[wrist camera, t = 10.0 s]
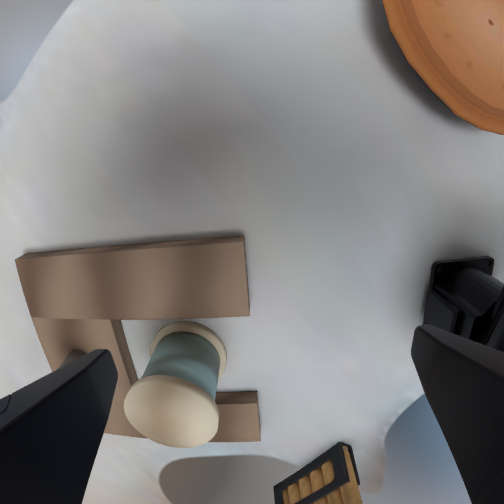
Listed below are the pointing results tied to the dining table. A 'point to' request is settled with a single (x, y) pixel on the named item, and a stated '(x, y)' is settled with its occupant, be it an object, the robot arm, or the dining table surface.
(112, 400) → the robot arm
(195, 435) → the thread spool
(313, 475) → the ammunition clip
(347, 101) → the dining table surface
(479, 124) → the pie
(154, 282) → the walnut notched board
